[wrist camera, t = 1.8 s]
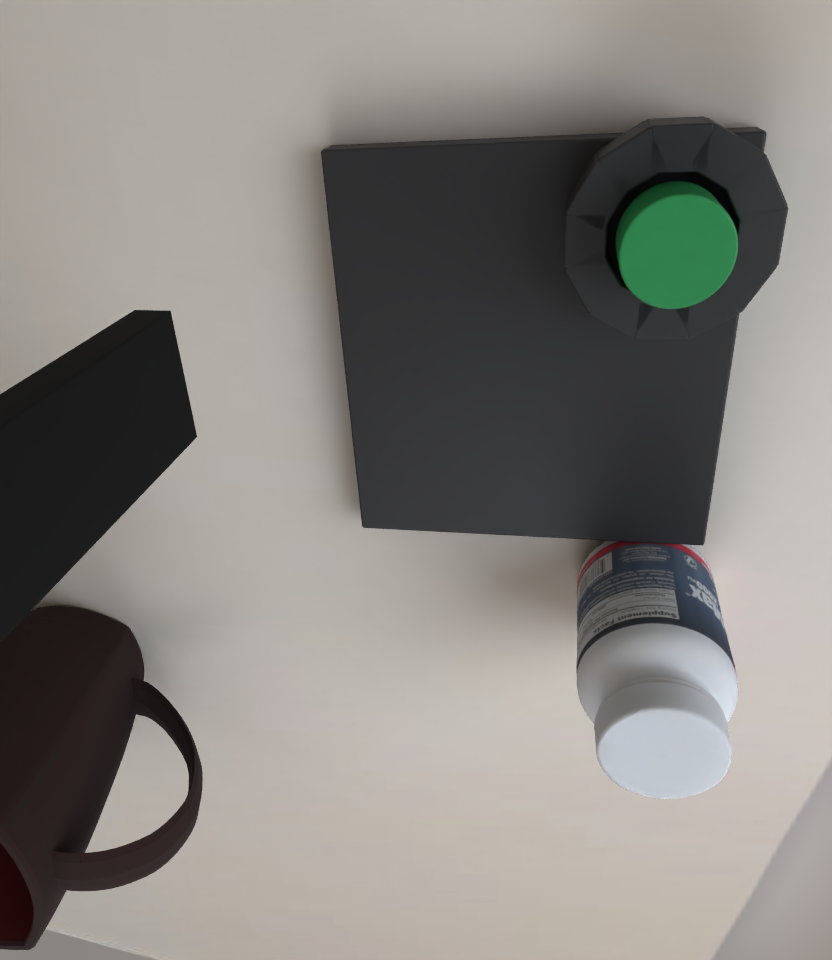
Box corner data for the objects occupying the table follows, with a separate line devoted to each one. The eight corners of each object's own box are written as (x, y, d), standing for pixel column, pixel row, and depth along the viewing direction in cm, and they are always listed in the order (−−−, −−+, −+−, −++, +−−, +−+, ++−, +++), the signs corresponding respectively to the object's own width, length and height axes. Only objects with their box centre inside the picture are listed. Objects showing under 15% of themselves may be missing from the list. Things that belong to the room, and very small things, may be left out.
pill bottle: (724, 621, 31) (769, 808, 24) (595, 641, 33) (600, 822, 25) (697, 513, 29) (738, 682, 22) (561, 541, 31) (555, 707, 23)
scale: (329, 129, 25) (300, 141, 22) (777, 108, 22) (803, 118, 20) (368, 512, 32) (350, 554, 29) (712, 528, 29) (725, 576, 27)
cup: (-18, 554, 37) (-245, 752, 27) (257, 612, 36) (129, 844, 26) (14, 698, 42) (-165, 911, 32) (257, 754, 41) (151, 995, 31)
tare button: (619, 182, 21) (622, 195, 20) (732, 178, 21) (747, 191, 19) (611, 289, 23) (614, 309, 21) (718, 288, 22) (730, 309, 21)
